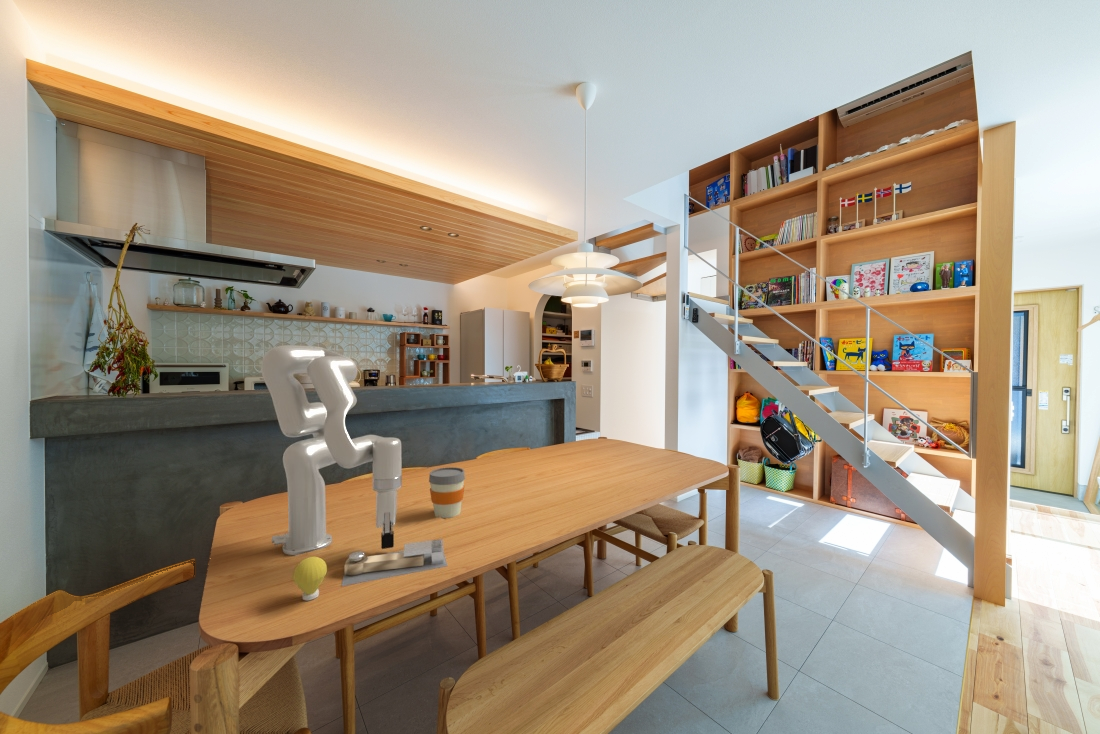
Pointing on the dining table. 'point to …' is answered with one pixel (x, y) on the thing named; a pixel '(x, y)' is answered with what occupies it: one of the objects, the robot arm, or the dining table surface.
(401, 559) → the arm link
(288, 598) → the dining table surface
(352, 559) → the pin cap
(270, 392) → the robot arm
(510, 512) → the dining table surface
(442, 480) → the reusable coffee cup
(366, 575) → the base board
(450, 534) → the dining table surface
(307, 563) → the light bulb
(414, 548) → the block
